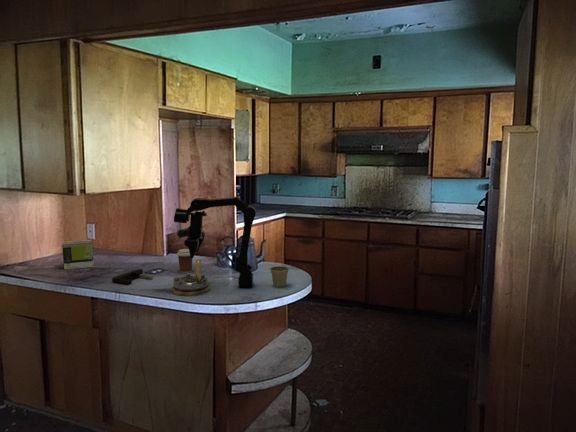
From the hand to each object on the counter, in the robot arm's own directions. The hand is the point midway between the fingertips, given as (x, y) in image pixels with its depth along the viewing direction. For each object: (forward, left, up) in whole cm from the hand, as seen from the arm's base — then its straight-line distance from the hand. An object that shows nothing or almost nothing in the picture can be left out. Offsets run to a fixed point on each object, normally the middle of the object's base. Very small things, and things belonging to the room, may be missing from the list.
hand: (194, 255), depth 227 cm
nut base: (0, +6, -16) cm, 17 cm away
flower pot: (-41, -6, -16) cm, 44 cm away
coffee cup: (+14, -27, -16) cm, 34 cm away
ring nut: (0, +6, -14) cm, 15 cm away
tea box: (+79, -31, -16) cm, 86 cm away
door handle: (+35, -9, -16) cm, 39 cm away
